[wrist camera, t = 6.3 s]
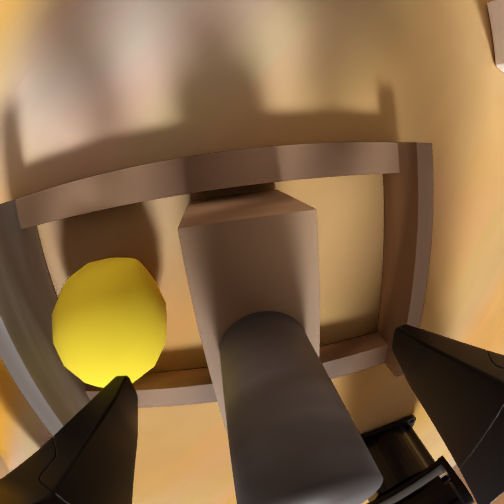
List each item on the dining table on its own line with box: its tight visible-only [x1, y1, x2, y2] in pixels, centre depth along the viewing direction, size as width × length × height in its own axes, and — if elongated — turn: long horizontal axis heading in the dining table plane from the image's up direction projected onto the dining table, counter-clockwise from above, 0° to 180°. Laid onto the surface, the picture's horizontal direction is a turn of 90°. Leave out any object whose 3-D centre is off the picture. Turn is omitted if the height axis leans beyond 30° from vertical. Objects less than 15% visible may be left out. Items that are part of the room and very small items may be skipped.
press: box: [0, 142, 433, 436], centre depth 12 cm, size 21×13×5 cm, turn 96°
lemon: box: [52, 258, 167, 388], centre depth 12 cm, size 7×5×5 cm
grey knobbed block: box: [178, 190, 383, 504], centre depth 9 cm, size 4×9×11 cm, turn 6°
